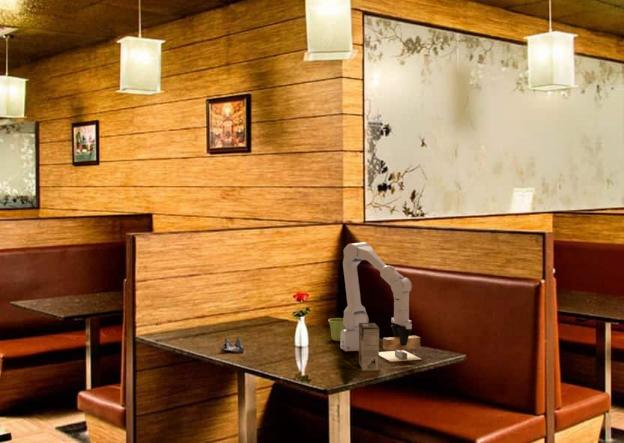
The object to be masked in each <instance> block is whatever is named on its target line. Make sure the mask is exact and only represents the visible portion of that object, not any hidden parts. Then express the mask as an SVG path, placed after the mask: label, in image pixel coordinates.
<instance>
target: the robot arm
mask: <svg viewBox="0 0 624 443" xmlns="http://www.w3.org/2000/svg"><path fill="white" fill-rule="evenodd" d="M362 261H367V262H368V263H370V264H371V265H372V266H373V267H374V268H375V269H376V270H378V271H379V272H380V273H379V274H380V277H381V278H382V279H383V280H384V281H385V282H386V283H387V284H388V285H389V286H390V288H391V291H392V294H393V296H392V297H393V301H394V302H393V317H391V319H390V321H391V323H392V324H391V325H390V328H391V330H392V332H393V335H394V336H393V337H400V344H401V346H406V345H407V341H408V337H409V336H411V335H410V334H411V333H412V331H413V327H412V326H413V324H412V320H410V292H411V291H412V288H413V284H412V281H411V279H410V278H408V277H404V276H403V275H402V274H400V273H399V272H398V271H397V270H396V268H395V266H392V265H387V264H386V263H385V262H384V261H383V260H382V259H381V258H380V256H379V255H377V253H376V252H375V251H374V250H373V247H372V246H371V245H370V244H369V243H368V242H365V241H364V242H363V241H362V242H355V243H348V244H347V245H346V246H345V247H344V249H343V260H342V267H343V276H344V284H345V293H346V303H347V306H346V307H345V309H344V310H343V324H344V326H345V327H346V329H345V330H342V331H341V335H340V341H339V342H340V343H339V344H340V349H341V350H343V351H344V352H355V351H356V352H359V323H369V316H368V314H367V311H366V307H365V306H364V305H362V301H361V292H360V291H361V289H360V283H359V275H358V265H360V263H361V262H362Z"/></svg>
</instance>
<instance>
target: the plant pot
mask: <svg viewBox="0 0 624 443" xmlns="http://www.w3.org/2000/svg"><path fill="white" fill-rule="evenodd" d="M343 318H344V317H343ZM343 318H342V317H335V318H329V319H327V322H328V324H329V328H330V334H331V340H333V341H335V342H340V335H341V331H342V330H345V329H346V327H345V326H344V324H343Z"/></svg>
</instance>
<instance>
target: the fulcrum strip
mask: <svg viewBox="0 0 624 443" xmlns="http://www.w3.org/2000/svg"><path fill="white" fill-rule="evenodd" d="M401 350H402V349H397V350H394V351H395V356H396V357H398V358H400V359H402V360H404V359H407V353H405V352H403V351H401Z"/></svg>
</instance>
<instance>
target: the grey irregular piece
mask: <svg viewBox="0 0 624 443" xmlns="http://www.w3.org/2000/svg"><path fill="white" fill-rule="evenodd" d="M223 341H224V342H223V345H222V348H221V349H222V352H227V351H228V352H231V353H232V354H243V353H244V347H243V346H244V342H243V340H242V338H240V336H237V337H236V341H235V344H233V343H232V342H231V341H230V340H229V339H228V338H227V337H224V340H223ZM236 348H237V349H236ZM234 349H235V350H234Z"/></svg>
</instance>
